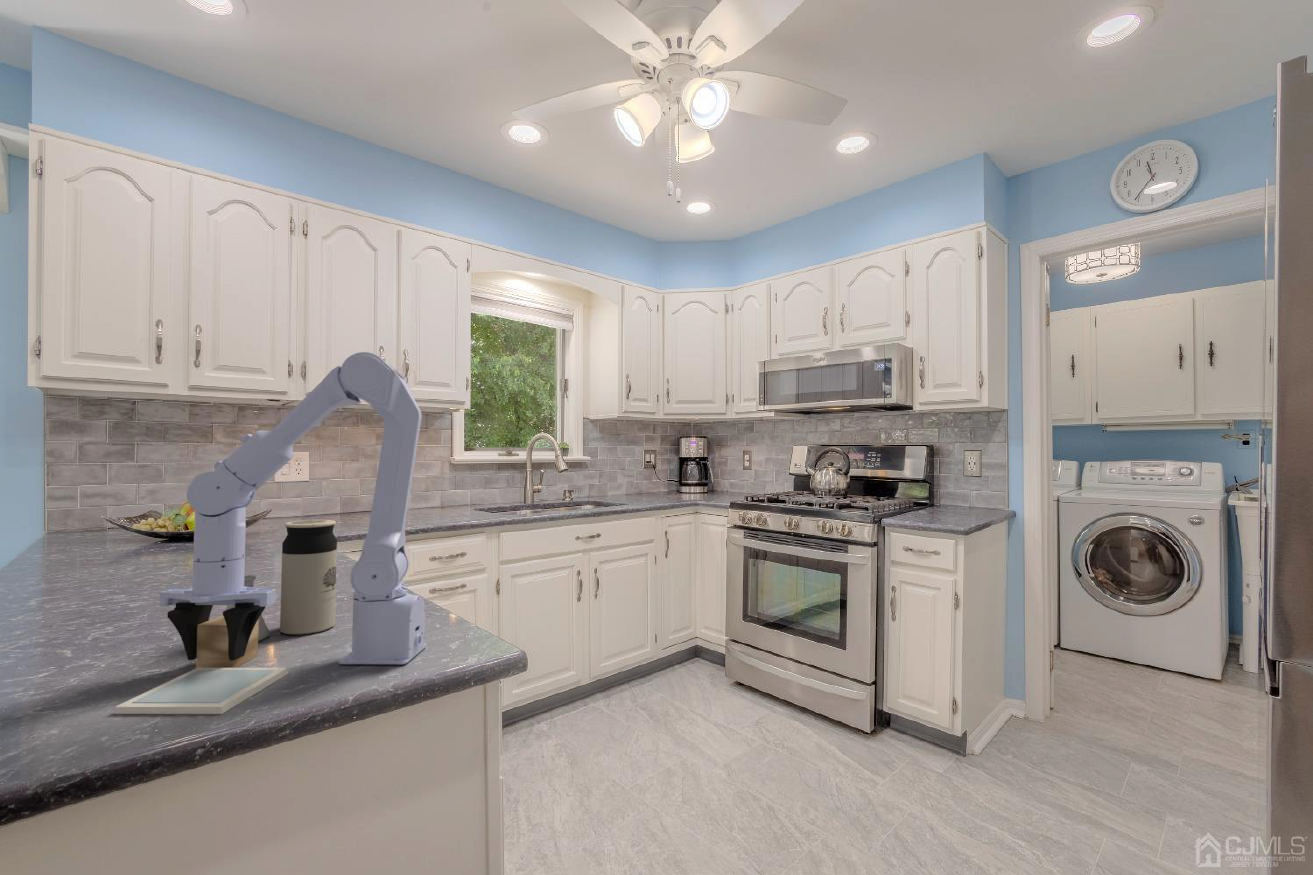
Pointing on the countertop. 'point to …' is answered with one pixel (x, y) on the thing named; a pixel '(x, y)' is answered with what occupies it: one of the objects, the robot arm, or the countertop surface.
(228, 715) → the countertop surface
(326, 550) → the travel mug
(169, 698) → the picture frame
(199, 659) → the oak block
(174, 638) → the countertop surface
